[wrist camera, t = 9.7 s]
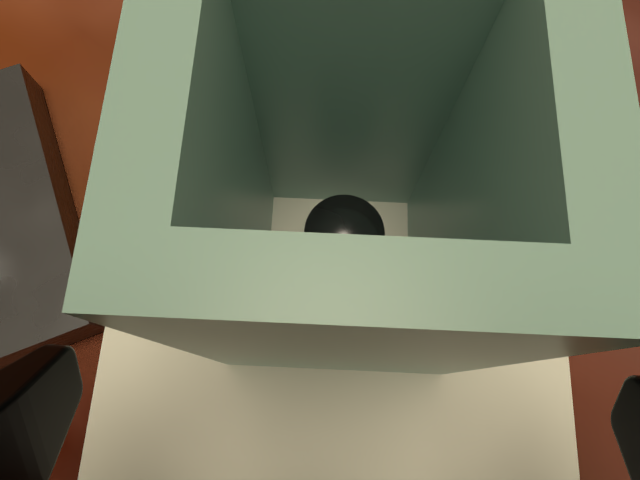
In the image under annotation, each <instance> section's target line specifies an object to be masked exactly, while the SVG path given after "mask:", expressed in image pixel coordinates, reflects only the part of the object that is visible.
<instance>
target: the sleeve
mask: <svg viewBox="0 0 640 480" xmlns="http://www.w3.org/2000/svg"><path fill="white" fill-rule="evenodd" d="M335 195H353V196H357V197H359V198H362V199H364V200H366V201H373V202H396V203H407V210H408V237H403V236H381V235H358V234H335V233H313V232H290V231H271V227H272V214H273V201H274V197H281V198H304V199H326V198H328V197H331V196H335ZM62 313H64V314H67V315H70V316H73V317H77V318H80V319H83V320H86V321H89V322H93V323H96V324H99V325H102V326H105V327H109V328H112V329H115V330H118V331H121V332H125V333H128V334H131V335H134V336H137V337H141V338H144V339H147V340H150V341H153V342H157V343H160V344H163V345H166V346H169V347H173V348H176V349H179V350H182V351H185V352H189V353H192V354H195V355H198V356H201V357H205V358H208V359H211V360H214V361H217V362H221V363H224V364H227V365H248V366H270V367H292V368H314V369H336V370H357V371H379V372H401V373H423V374H449V373H456V372H463V371H470V370H477V369H484V368H491V367H498V366H505V365H512V364H519V363H526V362H533V361H540V360H547V359H554V358H561V357H568V356H575V355H582V354H589V353H596V352H603V351H610V350H617V349H624V348H631V347H638V346H640V108H639V102H638V96H637V90H636V84H635V78H634V72H633V66H632V60H631V54H630V48H629V42H628V36H627V30H626V24H625V18H624V12H623V6H622V0H124V1H123V6H122V11H121V16H120V21H119V26H118V31H117V36H116V41H115V46H114V51H113V56H112V62H111V67H110V72H109V77H108V82H107V87H106V92H105V97H104V102H103V107H102V112H101V117H100V122H99V127H98V132H97V137H96V142H95V147H94V152H93V157H92V163H91V168H90V173H89V178H88V183H87V188H86V193H85V198H84V203H83V208H82V213H81V218H80V223H79V228H78V233H77V238H76V243H75V248H74V253H73V258H72V264H71V269H70V274H69V279H68V284H67V289H66V294H65V299H64V304H63V309H62Z"/></svg>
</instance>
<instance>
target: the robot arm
mask: <svg viewBox="0 0 640 480" xmlns="http://www.w3.org/2000/svg"><path fill="white" fill-rule="evenodd" d="M82 390H83V384H82V379H81V374H80V370H79V366H78V361H77V357H76V353H75V350H74V349H73V348H72V347H71V346H69V345H55V344H48V345H43V346H41V347H39V348H38V349H36V350H34V351H32V352H31V353H29V354H27V355H25V356H23V357H22V358H20V359H18V360H16V361H14V362H13V363H11V364H9V365H7V366H5V367H4V368H2V369H0V480H49V478H50V475H51V473H52V470H53V468H54V465H55V463H56V460H57V458H58V455H59V453H60V450H61V447H62V445H63V442H64V440H65V437H66V435H67V432H68V430H69V427H70V425H71V422H72V419H73V417H74V414H75V412H76V409H77V407H78V404H79V402H80V399H81V396H82ZM611 425H612V429H613V431H614V434H615V437H616V440H617V442H618V445H619V448H620V451H621V453H622V456H623V459H624V462H625V464H626V467H627V470H628V473H629V475H630V478H631V480H640V376H639V375H632V376H629V377H628V378H627V379H625V381H624V383H623V385H622V388H621V390H620V392H619V395H618V397H617V399H616V402H615V404H614V407H613V409H612V412H611Z"/></svg>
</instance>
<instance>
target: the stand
mask: <svg viewBox="0 0 640 480" xmlns="http://www.w3.org/2000/svg"><path fill="white" fill-rule="evenodd" d="M78 228H79V220H78V217H77V213H76V209H75V206H74V202H73V199H72V195H71V191H70V188H69V184H68V181H67V177H66V173H65V170H64V166H63V163H62V159H61V155H60V152H59V148H58V145H57V141H56V137H55V134H54V130H53V127H52V123H51V119H50V116H49V112H48V109H47V105H46V101H45V98H44V94H43V91H42V88H41V87H40V86H39V84H38V83H37V82H36V81H35V80H34V79H33V78H32V77H31V76H30V74H29V73H28V72H27V71H26V70H25V69H24V68H23V67H22V66H21V65H20V64H17V65H14V66H10V67H7V68H4V69H1V70H0V369H2V368H4V367H5V366H7V365H9V364H11V363H13V362H14V361H16V360H18V359H20V358H22V357H23V356H25V355H27V354H29V353H31V352H32V351H34V350H36V349H38V348H39V347H41V346H43V345H48V344H55V345H71V344H73V343H76V342H78V341H81V340H84V339H86V338H89V337H91V336H94V335H97V334H99V333H102V332H104V329H105V326H102V325H99V324H96V323H93V322H89V321H86V320H83V319H80V318H77V317H73V316H70V315H67V314H64V313H62V309H63V304H64V299H65V294H66V289H67V284H68V279H69V274H70V269H71V264H72V258H73V253H74V248H75V243H76V238H77V233H78Z"/></svg>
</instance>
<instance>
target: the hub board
mask: <svg viewBox="0 0 640 480" xmlns="http://www.w3.org/2000/svg"><path fill="white" fill-rule="evenodd" d="M271 231H290V232H313V233H335V234H358V235H381V236H403V237H408V210H407V203H396V202H373V201H366V200H364V199H362V198H359V197H357V196H353V195H335V196H331V197H328V198H326V199H304V198H281V197H274V201H273V214H272V227H271ZM78 480H580V476H579V465H578V455H577V444H576V433H575V423H574V412H573V401H572V390H571V380H570V369H569V358H568V357H561V358H554V359H547V360H540V361H533V362H526V363H519V364H512V365H505V366H498V367H491V368H484V369H477V370H470V371H463V372H456V373H449V374H423V373H401V372H379V371H357V370H336V369H314V368H292V367H270V366H248V365H227V364H224V363H221V362H217V361H214V360H211V359H208V358H205V357H201V356H198V355H195V354H192V353H189V352H185V351H182V350H179V349H176V348H173V347H169V346H166V345H163V344H160V343H157V342H153V341H150V340H147V339H144V338H141V337H137V336H134V335H131V334H128V333H125V332H121V331H118V330H115V329H112V328H109V327H105V329H104V335H103V340H102V346H101V352H100V357H99V363H98V368H97V374H96V380H95V385H94V391H93V396H92V402H91V408H90V413H89V419H88V424H87V430H86V436H85V441H84V447H83V452H82V458H81V463H80V469H79V475H78Z"/></svg>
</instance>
